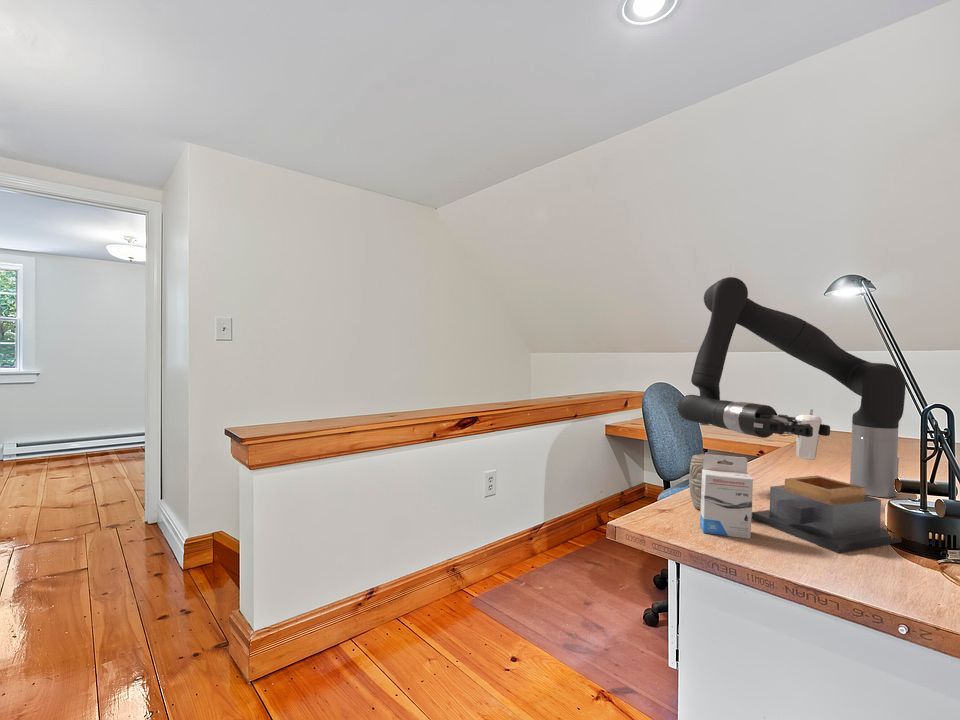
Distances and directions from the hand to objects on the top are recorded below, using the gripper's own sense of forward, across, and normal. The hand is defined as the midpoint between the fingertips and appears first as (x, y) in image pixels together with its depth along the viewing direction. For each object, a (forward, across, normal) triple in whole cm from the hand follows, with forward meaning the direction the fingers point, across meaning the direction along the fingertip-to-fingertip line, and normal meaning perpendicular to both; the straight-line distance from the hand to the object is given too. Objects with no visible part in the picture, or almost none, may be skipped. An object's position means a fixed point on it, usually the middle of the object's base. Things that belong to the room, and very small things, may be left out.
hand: (819, 431), depth 99 cm
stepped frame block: (+2, -1, +20) cm, 20 cm away
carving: (-15, -14, +20) cm, 29 cm away
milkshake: (-3, 0, +6) cm, 7 cm away
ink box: (-3, -21, +20) cm, 29 cm away
